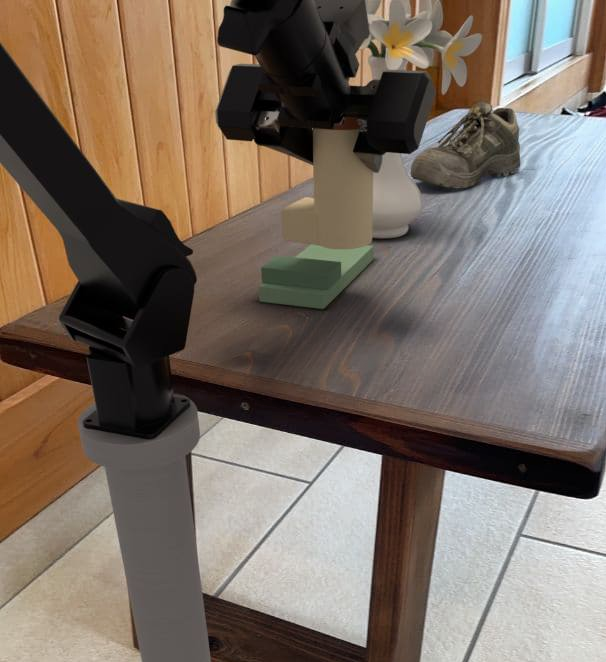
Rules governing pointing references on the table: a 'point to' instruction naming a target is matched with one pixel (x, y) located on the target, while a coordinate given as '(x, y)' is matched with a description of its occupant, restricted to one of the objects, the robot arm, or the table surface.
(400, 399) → the table surface
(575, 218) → the table surface
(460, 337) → the table surface
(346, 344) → the table surface
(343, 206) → the brown-capped cream cylinder
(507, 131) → the hiking shoe
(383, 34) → the flower vase
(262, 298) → the green stepped slab
